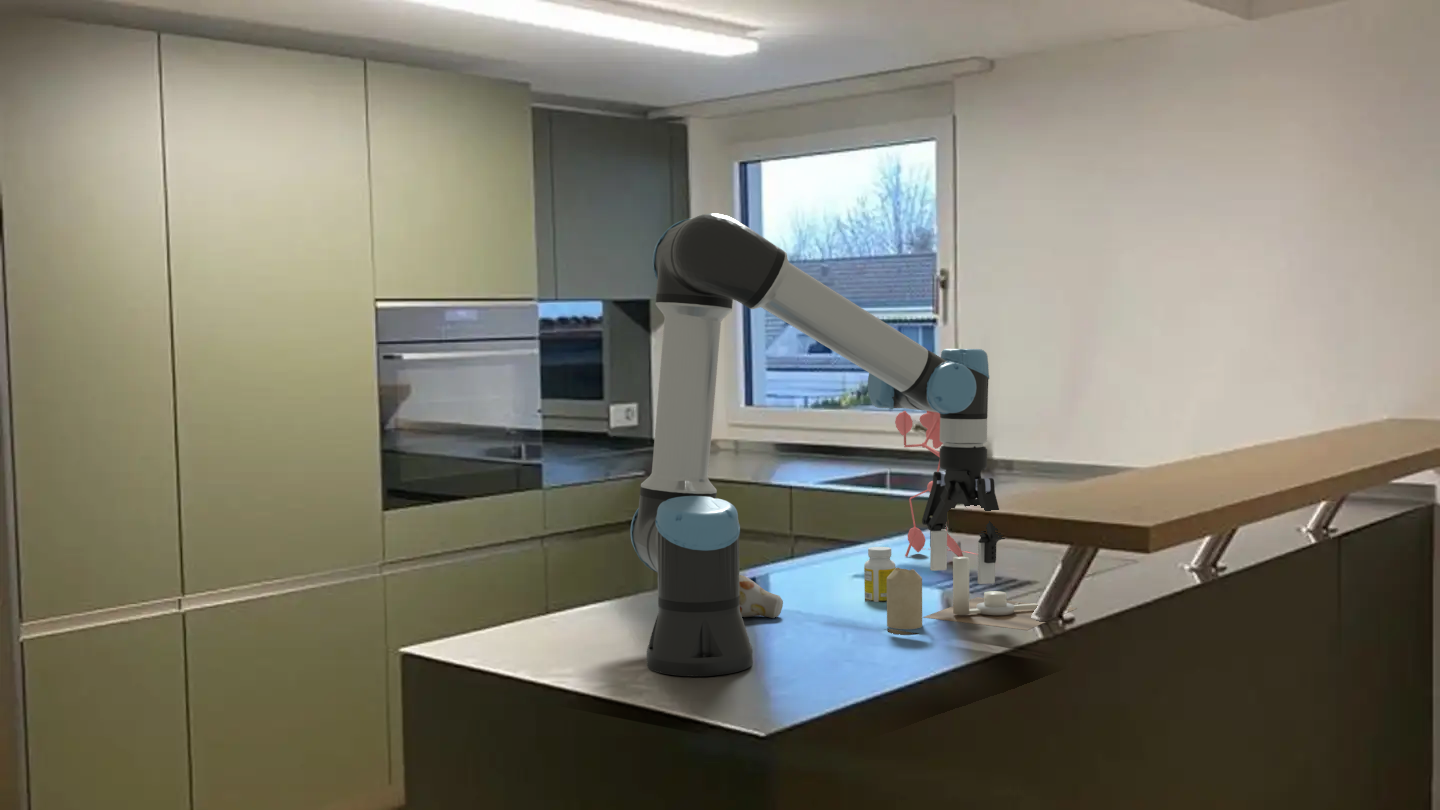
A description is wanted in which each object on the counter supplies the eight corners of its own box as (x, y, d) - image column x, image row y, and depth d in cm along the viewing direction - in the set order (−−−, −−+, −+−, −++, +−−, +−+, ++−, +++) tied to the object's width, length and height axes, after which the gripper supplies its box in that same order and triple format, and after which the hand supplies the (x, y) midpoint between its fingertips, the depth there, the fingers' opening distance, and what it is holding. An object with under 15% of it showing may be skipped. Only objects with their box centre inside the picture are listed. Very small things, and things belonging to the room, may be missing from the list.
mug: (785, 623, 228) (755, 572, 226) (736, 646, 231) (705, 596, 229) (793, 604, 235) (764, 554, 233) (745, 625, 238) (715, 577, 236)
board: (1027, 636, 214) (1027, 628, 214) (922, 623, 225) (922, 615, 225) (1077, 614, 230) (1077, 606, 230) (977, 602, 241) (977, 595, 241)
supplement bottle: (900, 602, 242) (899, 546, 242) (890, 608, 237) (890, 551, 237) (870, 600, 245) (869, 545, 244) (860, 606, 240) (859, 549, 239)
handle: (961, 617, 222) (961, 561, 222) (946, 610, 228) (946, 555, 228) (1046, 612, 226) (1045, 556, 226) (1029, 605, 232) (1028, 551, 231)
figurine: (962, 568, 276) (964, 391, 275) (876, 552, 297) (877, 388, 296) (1016, 561, 285) (1018, 390, 284) (929, 547, 306) (931, 387, 305)
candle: (928, 630, 220) (928, 567, 219) (912, 636, 215) (912, 572, 215) (897, 626, 223) (896, 564, 222) (880, 633, 218) (880, 569, 218)
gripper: (1030, 450, 213) (1027, 587, 214) (940, 439, 236) (938, 563, 237) (989, 451, 210) (987, 590, 211) (902, 440, 233) (900, 566, 234)
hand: (961, 576), depth 224 cm, fingers open, 13 cm apart
